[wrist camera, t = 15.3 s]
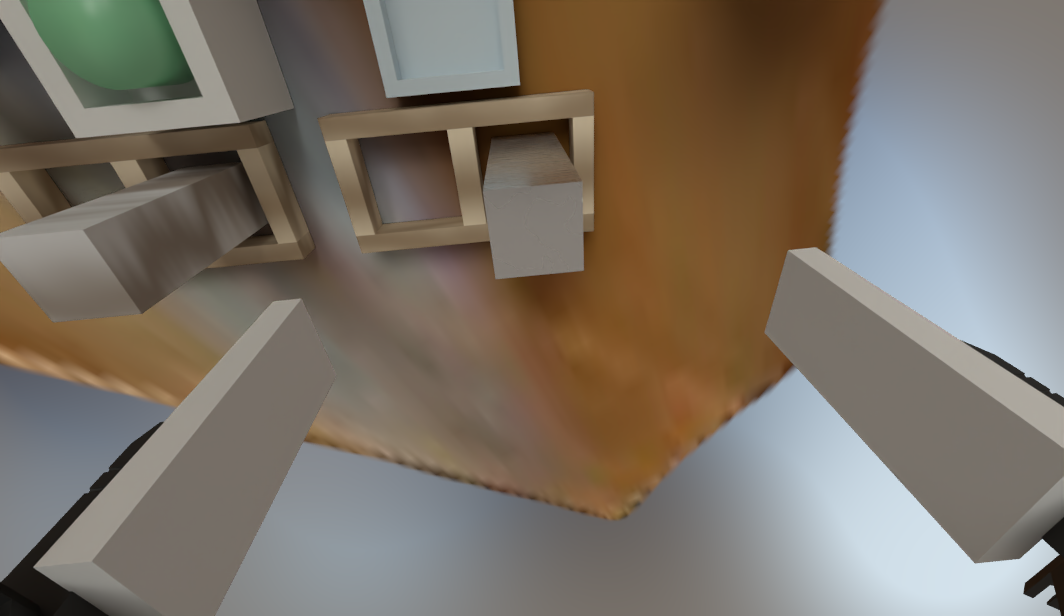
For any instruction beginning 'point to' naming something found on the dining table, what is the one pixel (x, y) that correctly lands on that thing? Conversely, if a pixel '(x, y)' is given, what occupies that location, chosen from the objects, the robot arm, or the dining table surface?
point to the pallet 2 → (465, 156)
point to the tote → (443, 45)
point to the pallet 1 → (145, 217)
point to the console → (209, 99)
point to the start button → (112, 41)
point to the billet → (533, 207)
